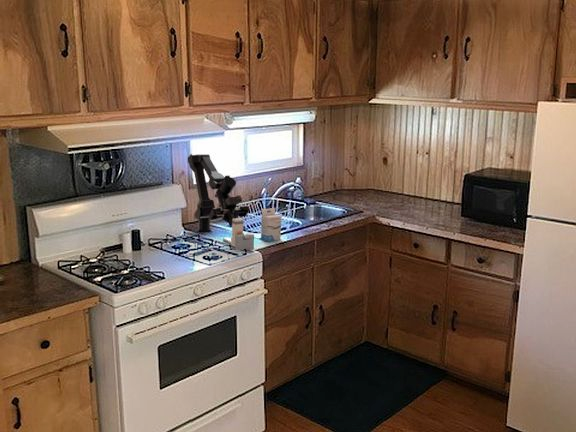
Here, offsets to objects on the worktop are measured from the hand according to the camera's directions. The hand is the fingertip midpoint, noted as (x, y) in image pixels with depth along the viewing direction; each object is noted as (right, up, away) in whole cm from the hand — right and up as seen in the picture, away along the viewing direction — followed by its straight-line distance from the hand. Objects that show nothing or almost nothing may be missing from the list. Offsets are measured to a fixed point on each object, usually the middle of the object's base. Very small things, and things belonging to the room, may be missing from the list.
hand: (235, 227), depth 284 cm
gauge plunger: (+4, -5, -5) cm, 8 cm away
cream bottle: (+1, -8, -1) cm, 8 cm away
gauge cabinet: (+4, -9, -5) cm, 12 cm away
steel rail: (-1, -8, +3) cm, 8 cm away
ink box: (+16, -6, +14) cm, 22 cm away
